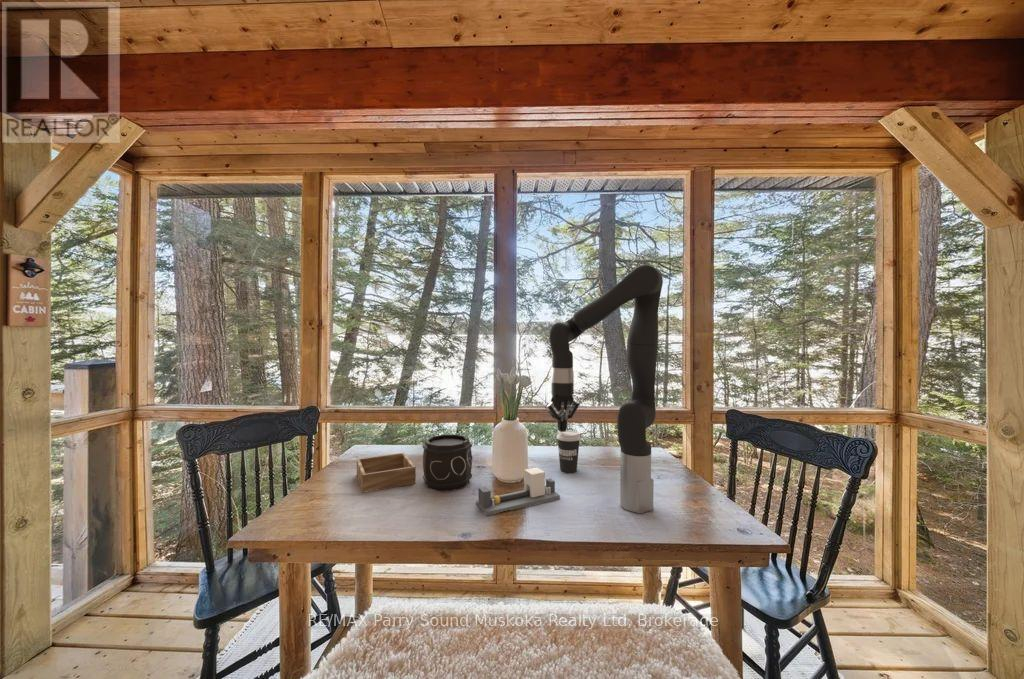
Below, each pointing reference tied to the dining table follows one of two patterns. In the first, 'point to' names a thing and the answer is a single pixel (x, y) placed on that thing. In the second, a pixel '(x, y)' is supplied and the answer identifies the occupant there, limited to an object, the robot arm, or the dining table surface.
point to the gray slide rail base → (513, 499)
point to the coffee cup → (568, 450)
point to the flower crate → (385, 471)
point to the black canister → (447, 462)
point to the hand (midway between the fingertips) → (562, 431)
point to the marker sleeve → (534, 481)
